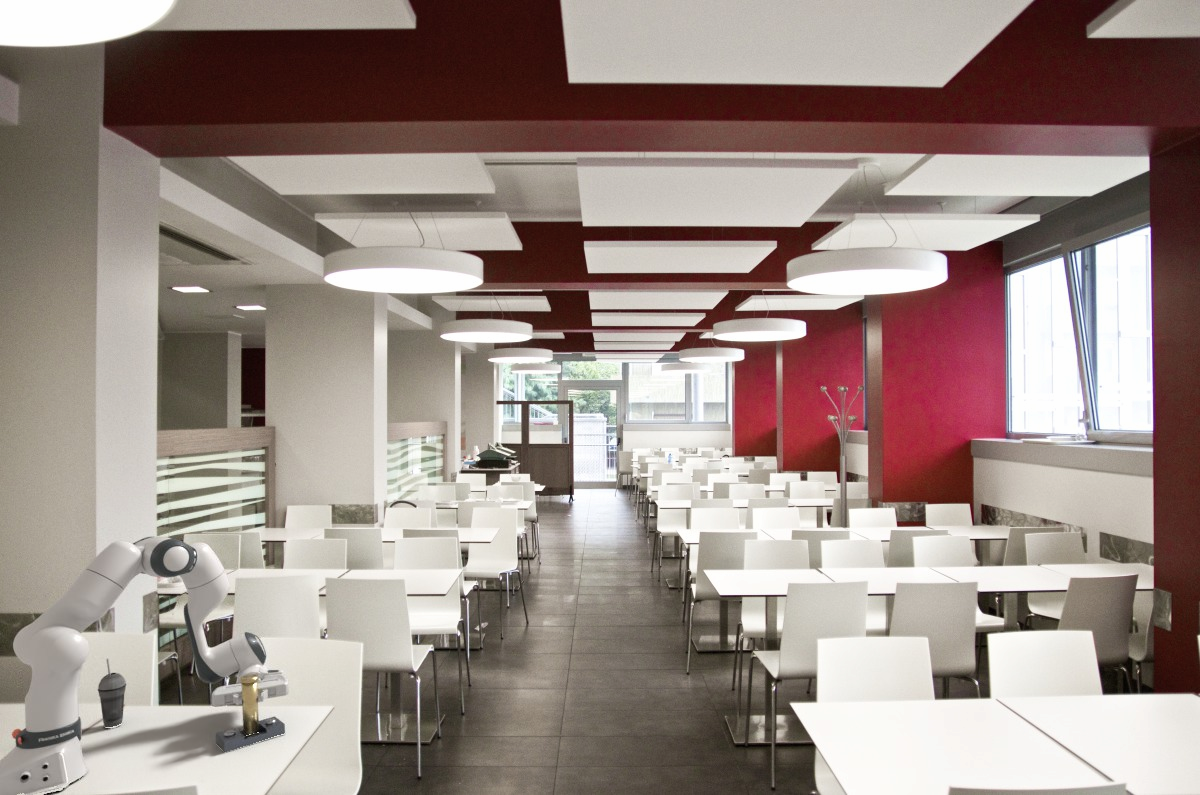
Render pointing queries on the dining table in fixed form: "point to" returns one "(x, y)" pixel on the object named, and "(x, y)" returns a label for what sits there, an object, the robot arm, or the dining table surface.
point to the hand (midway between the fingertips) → (249, 700)
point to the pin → (250, 703)
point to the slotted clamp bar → (236, 737)
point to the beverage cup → (112, 698)
